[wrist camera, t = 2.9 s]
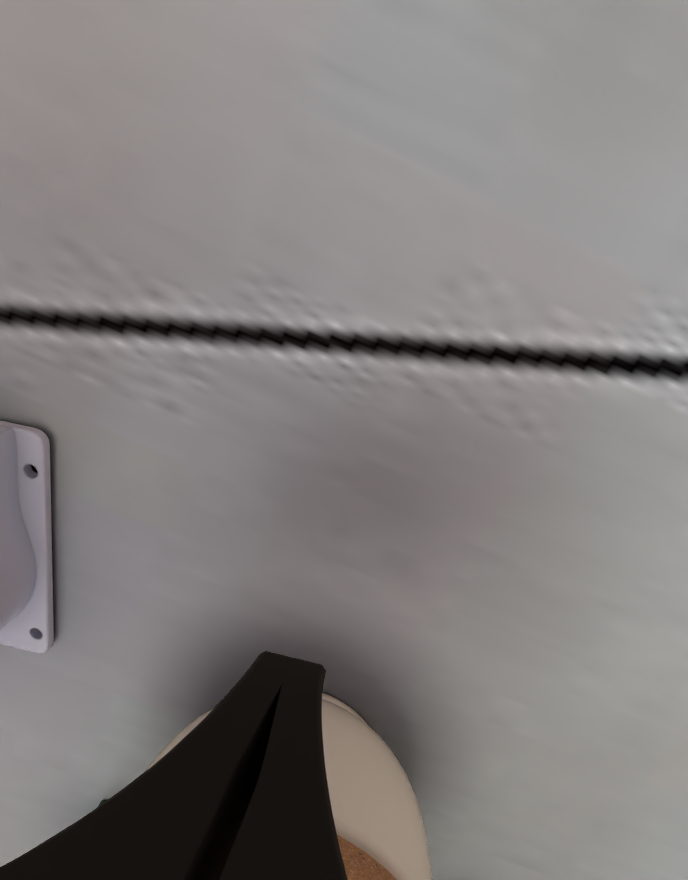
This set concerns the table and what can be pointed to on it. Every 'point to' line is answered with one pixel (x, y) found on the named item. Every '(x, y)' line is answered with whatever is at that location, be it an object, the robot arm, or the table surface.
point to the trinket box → (365, 799)
